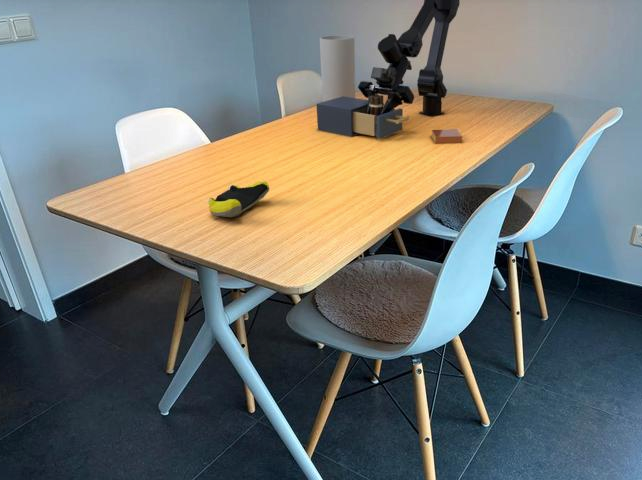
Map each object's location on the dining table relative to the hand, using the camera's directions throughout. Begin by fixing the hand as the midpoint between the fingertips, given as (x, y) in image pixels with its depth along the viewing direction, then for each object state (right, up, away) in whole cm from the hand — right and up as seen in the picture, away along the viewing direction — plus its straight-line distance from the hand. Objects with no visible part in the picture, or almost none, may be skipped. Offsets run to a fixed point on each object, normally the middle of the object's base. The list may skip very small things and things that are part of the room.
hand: (374, 114), depth 175 cm
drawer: (+2, -5, +3) cm, 6 cm away
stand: (+22, -8, -3) cm, 24 cm away
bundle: (+1, -3, +3) cm, 5 cm away
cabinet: (-9, -1, +11) cm, 14 cm away
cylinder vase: (-12, +13, +38) cm, 42 cm away
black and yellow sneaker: (-34, -36, -48) cm, 69 cm away
